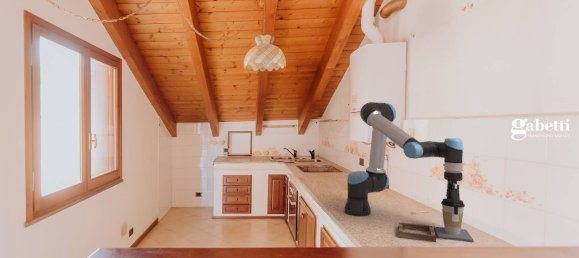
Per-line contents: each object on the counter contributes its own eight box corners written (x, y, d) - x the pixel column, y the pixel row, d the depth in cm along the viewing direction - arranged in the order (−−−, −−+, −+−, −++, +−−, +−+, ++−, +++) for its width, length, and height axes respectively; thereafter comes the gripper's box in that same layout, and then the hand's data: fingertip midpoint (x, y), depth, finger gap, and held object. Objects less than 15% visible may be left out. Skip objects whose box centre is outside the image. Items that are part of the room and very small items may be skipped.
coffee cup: (456, 228, 146) (456, 197, 145) (469, 236, 136) (469, 203, 136) (436, 228, 145) (436, 197, 145) (447, 236, 135) (448, 203, 135)
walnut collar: (398, 227, 150) (398, 222, 150) (431, 230, 145) (431, 225, 145) (399, 237, 136) (399, 232, 136) (436, 242, 131) (436, 236, 131)
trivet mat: (434, 228, 149) (434, 226, 149) (466, 231, 144) (466, 229, 144) (438, 238, 136) (438, 236, 136) (473, 242, 131) (473, 240, 131)
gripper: (440, 167, 153) (439, 209, 153) (448, 175, 129) (448, 224, 130) (456, 168, 150) (456, 210, 151) (468, 176, 127) (468, 226, 127)
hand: (452, 216), depth 140 cm, fingers open, 13 cm apart
